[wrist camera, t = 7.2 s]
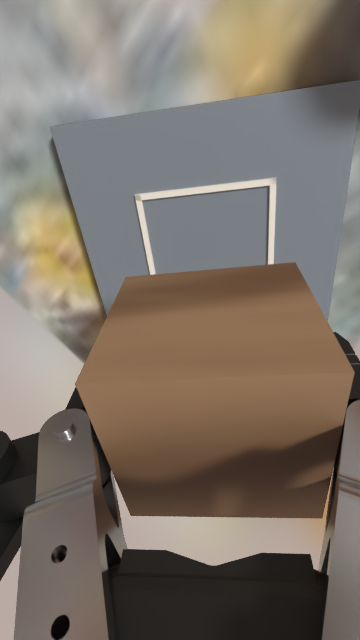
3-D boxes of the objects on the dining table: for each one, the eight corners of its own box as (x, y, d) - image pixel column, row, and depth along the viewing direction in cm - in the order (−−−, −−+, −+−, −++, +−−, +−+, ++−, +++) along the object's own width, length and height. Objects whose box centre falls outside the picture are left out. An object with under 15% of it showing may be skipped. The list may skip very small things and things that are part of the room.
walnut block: (125, 276, 11) (74, 383, 7) (295, 262, 10) (354, 372, 6) (154, 392, 14) (130, 515, 10) (286, 387, 13) (322, 518, 9)
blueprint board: (57, 125, 16) (48, 127, 15) (355, 80, 14) (365, 78, 13) (121, 345, 24) (117, 355, 23) (319, 333, 22) (325, 344, 21)
